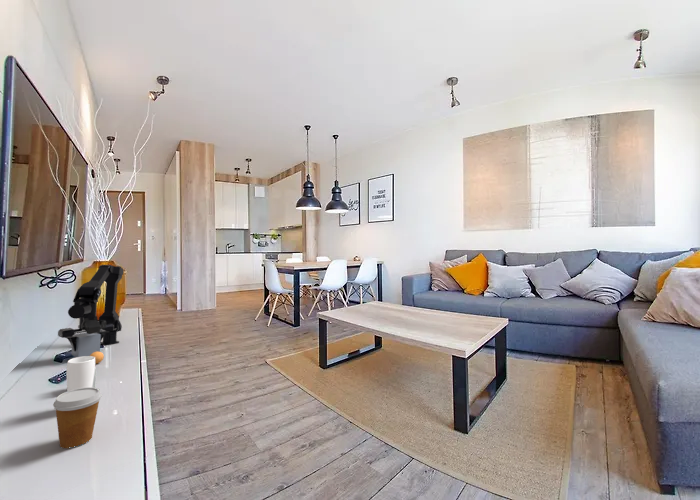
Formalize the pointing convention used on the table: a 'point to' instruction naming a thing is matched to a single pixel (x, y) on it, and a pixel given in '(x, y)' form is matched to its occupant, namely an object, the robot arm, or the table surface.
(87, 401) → the disposable coffee cup
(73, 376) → the white paper cup
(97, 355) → the ball
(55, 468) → the table surface
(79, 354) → the grey cube
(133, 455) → the table surface
